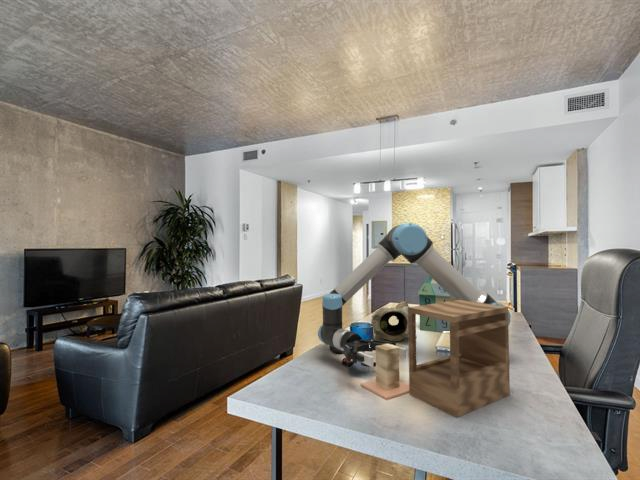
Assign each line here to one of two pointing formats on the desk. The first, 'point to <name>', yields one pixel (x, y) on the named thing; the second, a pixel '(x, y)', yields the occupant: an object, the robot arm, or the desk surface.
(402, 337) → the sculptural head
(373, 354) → the sign
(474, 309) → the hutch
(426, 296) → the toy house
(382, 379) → the beech block
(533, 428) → the desk surface
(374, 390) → the terracotta tile
